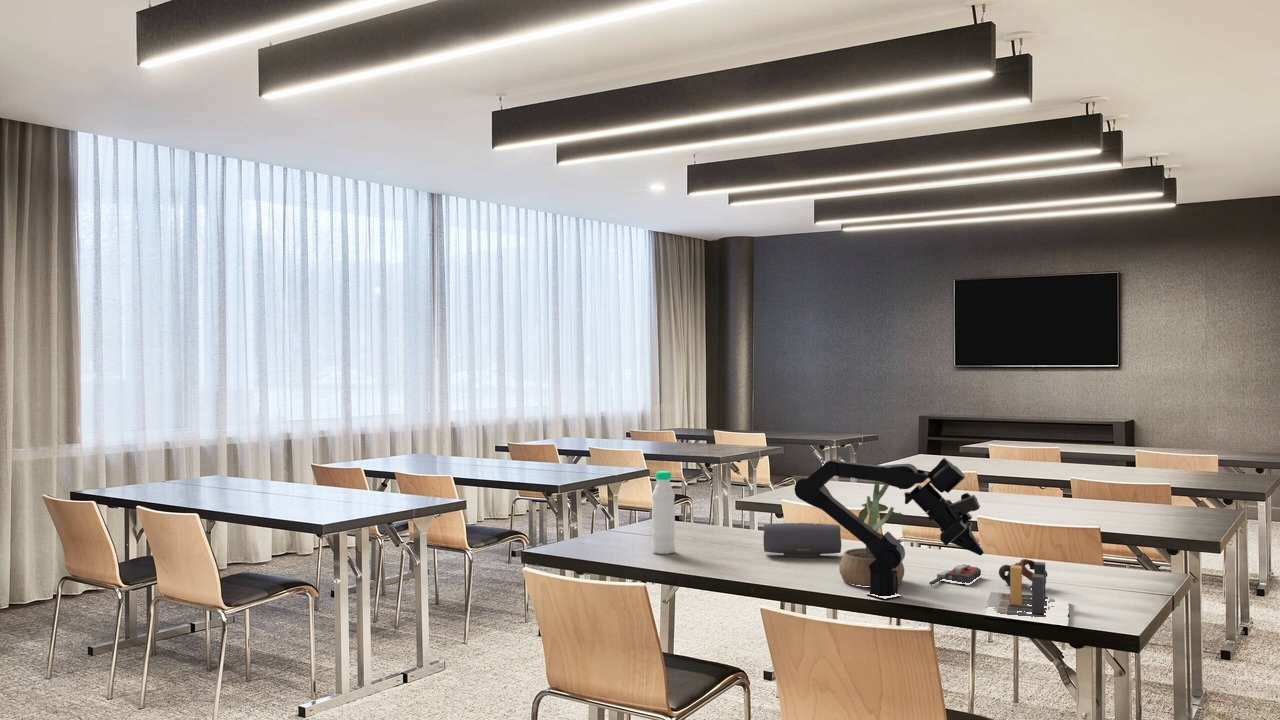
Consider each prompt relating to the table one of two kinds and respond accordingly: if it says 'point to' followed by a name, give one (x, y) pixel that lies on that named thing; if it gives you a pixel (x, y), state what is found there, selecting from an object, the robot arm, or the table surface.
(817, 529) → the bluetooth speaker
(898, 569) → the potted plant
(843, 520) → the robot arm
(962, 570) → the walkie-talkie
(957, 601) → the table surface
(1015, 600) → the tan wooden tall block
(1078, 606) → the table surface
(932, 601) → the table surface
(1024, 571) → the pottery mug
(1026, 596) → the grey ribbed panel
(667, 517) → the water bottle
